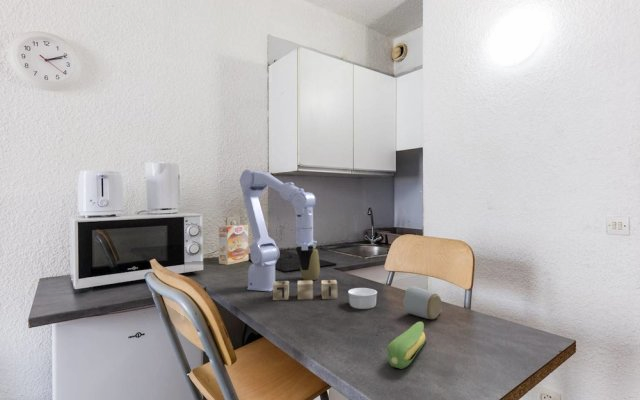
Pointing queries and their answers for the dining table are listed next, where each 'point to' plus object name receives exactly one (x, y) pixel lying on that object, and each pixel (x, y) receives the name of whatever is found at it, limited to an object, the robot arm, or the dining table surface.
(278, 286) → the numbered block seven
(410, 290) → the grey and brown cylinder
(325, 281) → the numbered block one
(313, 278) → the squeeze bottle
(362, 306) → the ramekin
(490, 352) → the dining table surface
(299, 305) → the dining table surface
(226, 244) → the coffeecake box
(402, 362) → the edible corn
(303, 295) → the plain block
